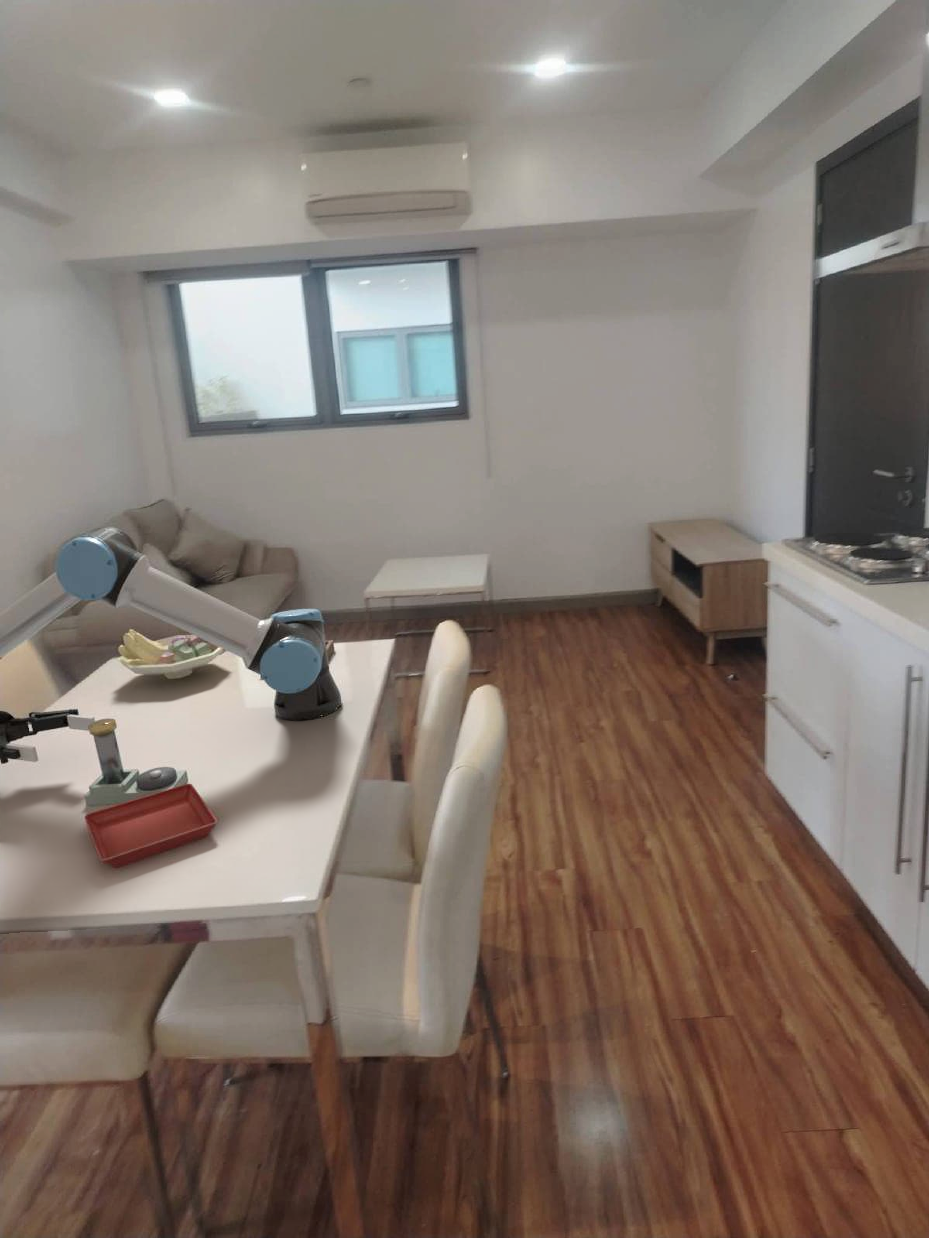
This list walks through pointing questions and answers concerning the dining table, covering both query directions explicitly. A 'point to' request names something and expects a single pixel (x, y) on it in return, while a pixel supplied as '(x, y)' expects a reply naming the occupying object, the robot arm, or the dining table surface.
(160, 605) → the robot arm
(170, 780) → the base
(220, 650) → the dish with food
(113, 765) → the pin
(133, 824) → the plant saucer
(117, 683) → the dining table surface
